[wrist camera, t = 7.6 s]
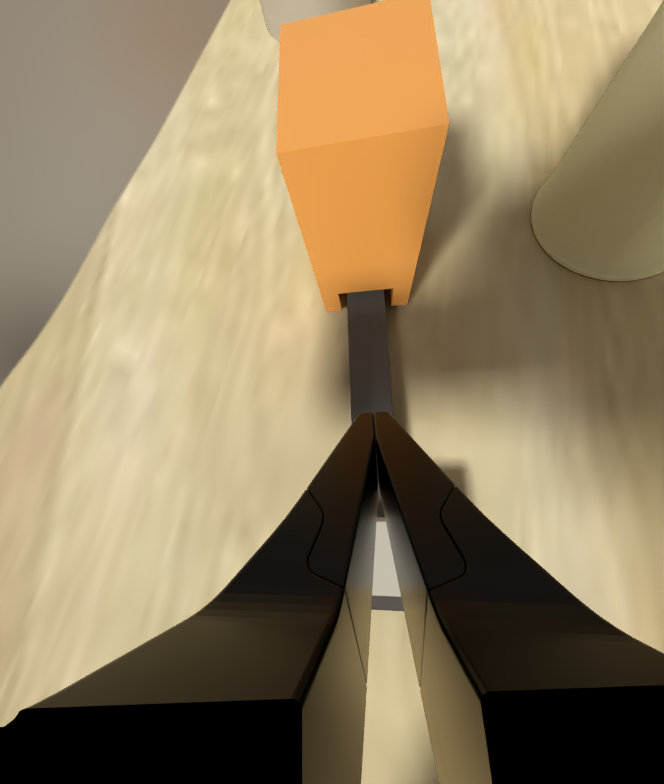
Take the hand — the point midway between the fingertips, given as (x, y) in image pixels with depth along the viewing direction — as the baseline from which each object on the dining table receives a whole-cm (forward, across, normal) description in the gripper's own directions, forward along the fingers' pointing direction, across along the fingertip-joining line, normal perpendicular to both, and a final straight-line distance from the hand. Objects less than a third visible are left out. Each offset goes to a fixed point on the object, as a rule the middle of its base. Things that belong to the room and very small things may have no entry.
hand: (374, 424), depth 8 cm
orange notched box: (+14, 0, -2) cm, 14 cm away
